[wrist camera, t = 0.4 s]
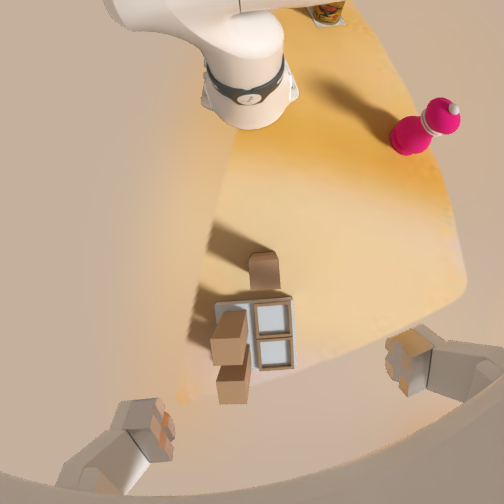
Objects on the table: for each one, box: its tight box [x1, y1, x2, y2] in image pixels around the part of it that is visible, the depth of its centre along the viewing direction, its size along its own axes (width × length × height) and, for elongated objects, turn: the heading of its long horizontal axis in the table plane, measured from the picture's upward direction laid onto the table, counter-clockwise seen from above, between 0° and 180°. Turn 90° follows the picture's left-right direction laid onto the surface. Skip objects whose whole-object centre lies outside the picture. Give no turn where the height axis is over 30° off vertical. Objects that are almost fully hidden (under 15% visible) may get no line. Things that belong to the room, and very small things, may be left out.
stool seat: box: [210, 297, 296, 404], centre depth 46 cm, size 13×14×16 cm
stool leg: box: [248, 252, 281, 291], centre depth 47 cm, size 4×4×14 cm
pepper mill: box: [390, 98, 460, 155], centre depth 40 cm, size 7×7×20 cm
